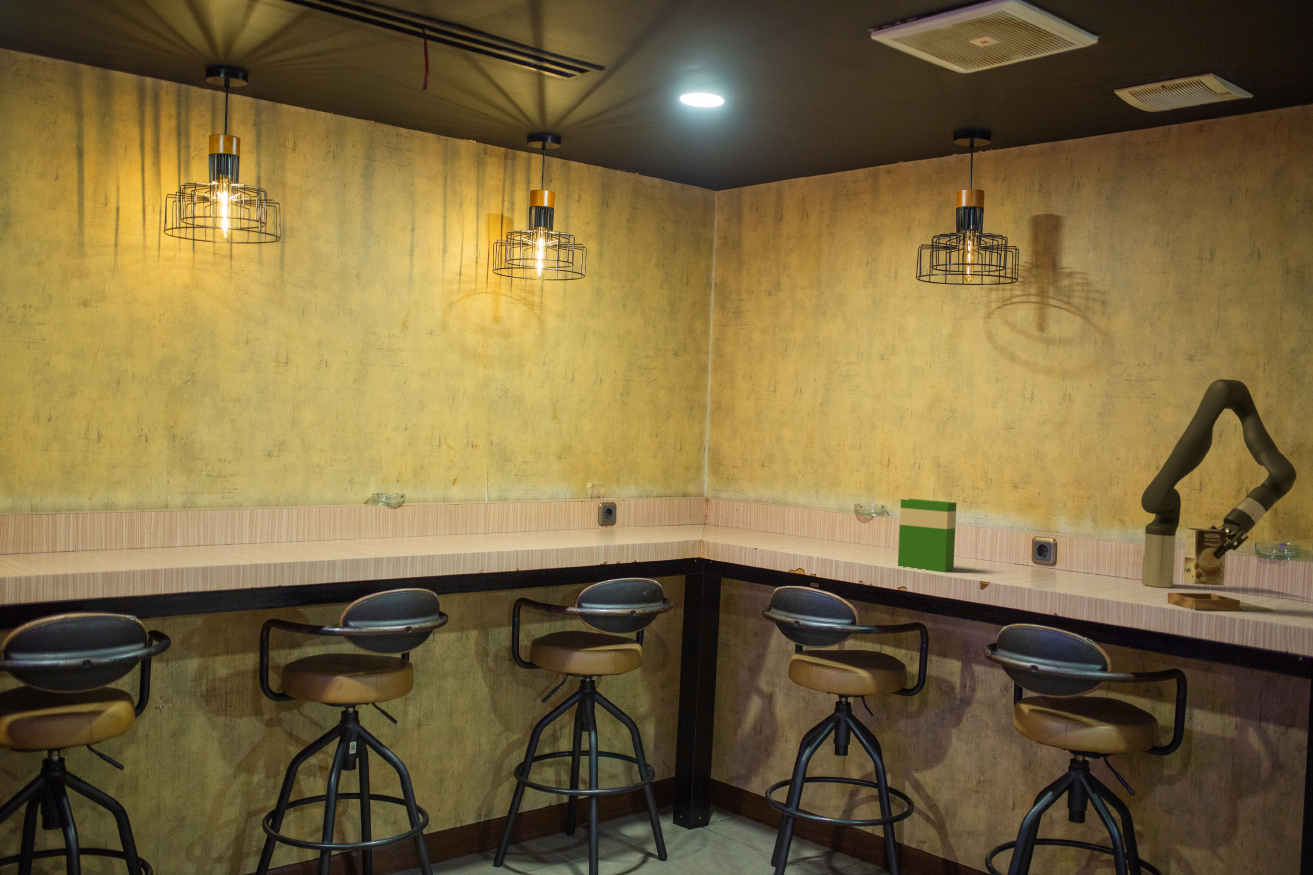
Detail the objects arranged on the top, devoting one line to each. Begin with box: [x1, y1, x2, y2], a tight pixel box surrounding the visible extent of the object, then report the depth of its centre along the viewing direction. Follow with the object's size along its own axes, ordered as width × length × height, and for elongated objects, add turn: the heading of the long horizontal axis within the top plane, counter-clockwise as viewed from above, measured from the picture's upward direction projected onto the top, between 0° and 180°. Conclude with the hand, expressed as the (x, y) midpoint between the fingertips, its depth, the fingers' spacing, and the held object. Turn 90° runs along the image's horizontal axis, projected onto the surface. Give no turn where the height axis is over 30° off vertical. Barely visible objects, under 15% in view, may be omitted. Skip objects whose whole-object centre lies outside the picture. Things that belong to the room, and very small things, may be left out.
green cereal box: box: [897, 498, 957, 573], centre depth 379 cm, size 18×7×24 cm, turn 52°
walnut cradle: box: [1167, 592, 1241, 611], centre depth 317 cm, size 12×14×3 cm
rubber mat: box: [1239, 601, 1274, 612], centre depth 319 cm, size 13×10×1 cm
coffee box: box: [1182, 527, 1227, 586], centre depth 317 cm, size 9×6×16 cm
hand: (1207, 554), depth 317 cm, fingers closed on coffee box, 7 cm apart
